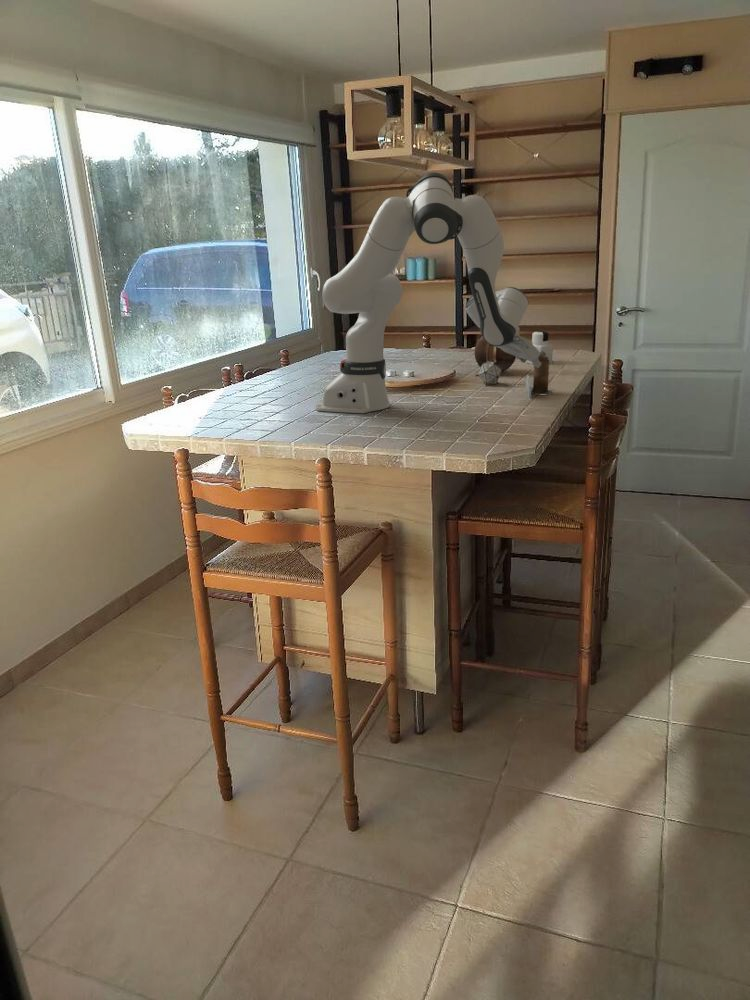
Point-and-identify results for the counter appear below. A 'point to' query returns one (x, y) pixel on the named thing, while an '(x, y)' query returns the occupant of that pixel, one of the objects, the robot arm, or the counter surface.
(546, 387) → the pepper mill
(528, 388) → the clear wall
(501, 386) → the counter surface
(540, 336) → the medicine bottle
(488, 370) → the game die
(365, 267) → the robot arm
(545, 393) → the slate coaster
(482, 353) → the wooden sphere
